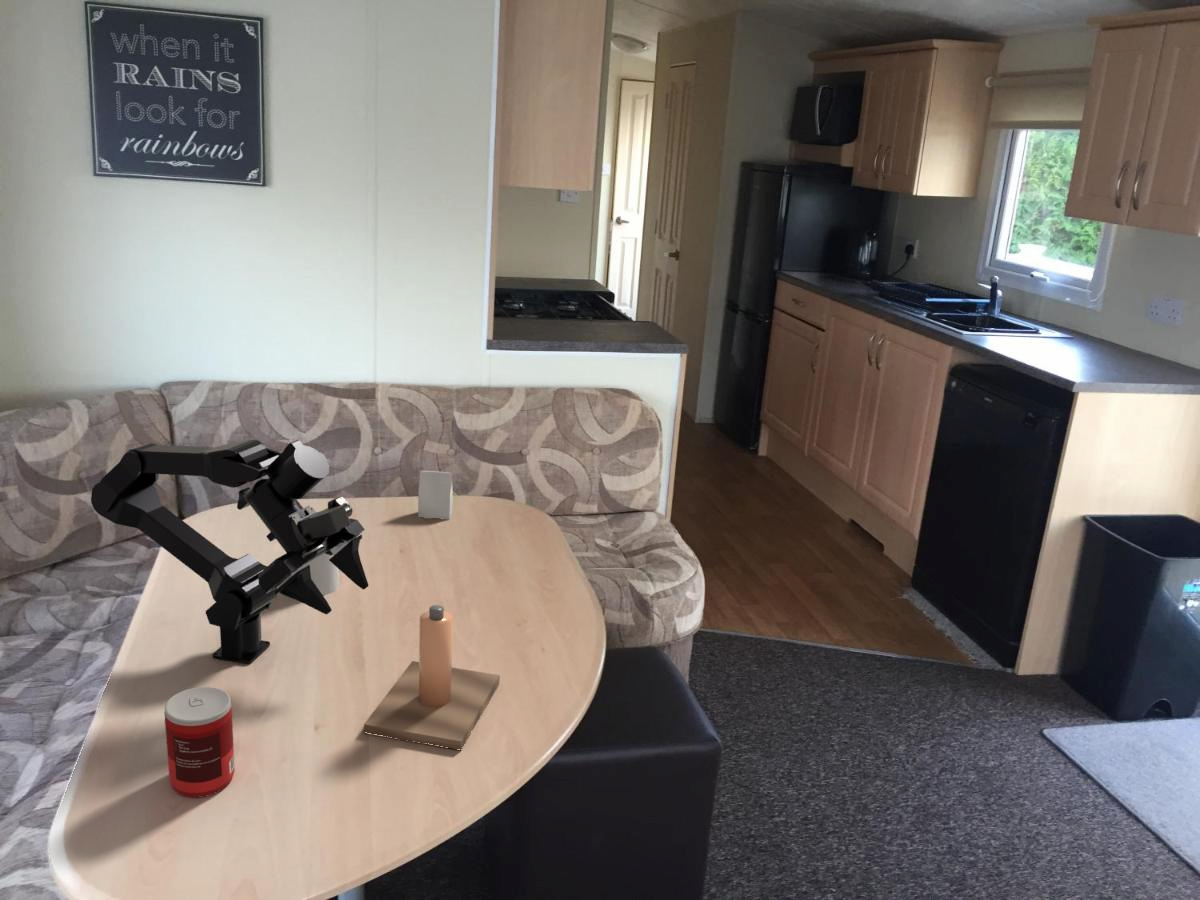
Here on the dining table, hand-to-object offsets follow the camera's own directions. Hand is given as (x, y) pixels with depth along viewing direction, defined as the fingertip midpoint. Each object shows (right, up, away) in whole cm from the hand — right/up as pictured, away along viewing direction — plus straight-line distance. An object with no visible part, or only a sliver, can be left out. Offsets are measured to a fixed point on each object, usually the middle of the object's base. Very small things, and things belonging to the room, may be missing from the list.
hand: (348, 599), depth 145 cm
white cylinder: (-15, -3, +34) cm, 37 cm away
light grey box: (+1, +7, +70) cm, 71 cm away
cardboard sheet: (+13, -16, -1) cm, 20 cm away
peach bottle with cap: (+13, -14, -1) cm, 19 cm away
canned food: (-13, -20, -20) cm, 31 cm away
